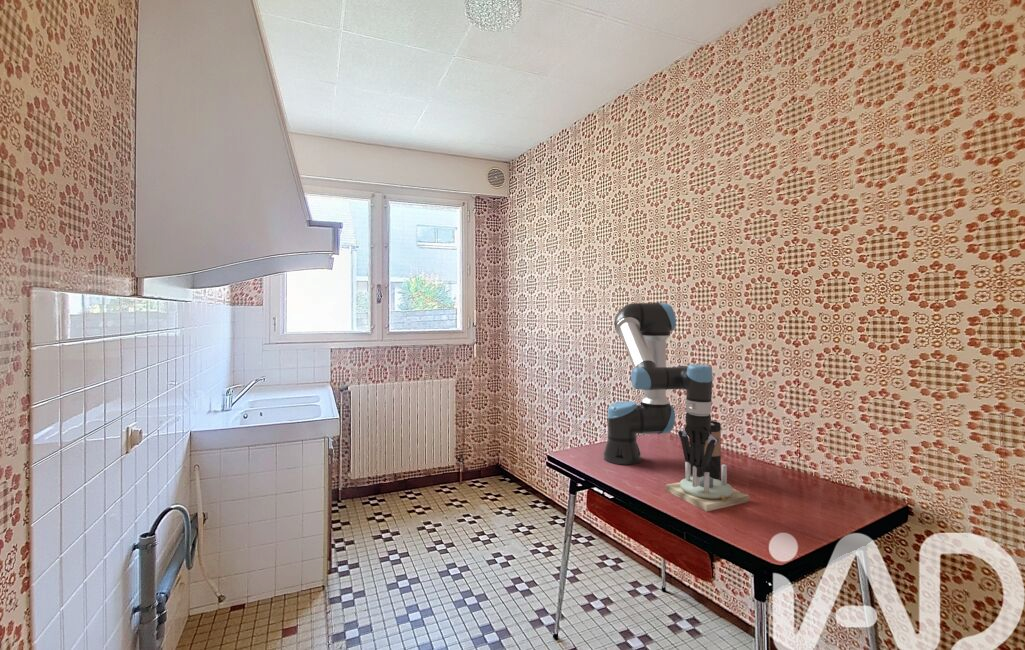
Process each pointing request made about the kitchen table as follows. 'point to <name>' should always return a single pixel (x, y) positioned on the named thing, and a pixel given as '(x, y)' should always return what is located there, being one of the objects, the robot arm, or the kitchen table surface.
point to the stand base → (707, 503)
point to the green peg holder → (707, 484)
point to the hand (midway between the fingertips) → (696, 485)
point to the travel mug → (714, 452)
